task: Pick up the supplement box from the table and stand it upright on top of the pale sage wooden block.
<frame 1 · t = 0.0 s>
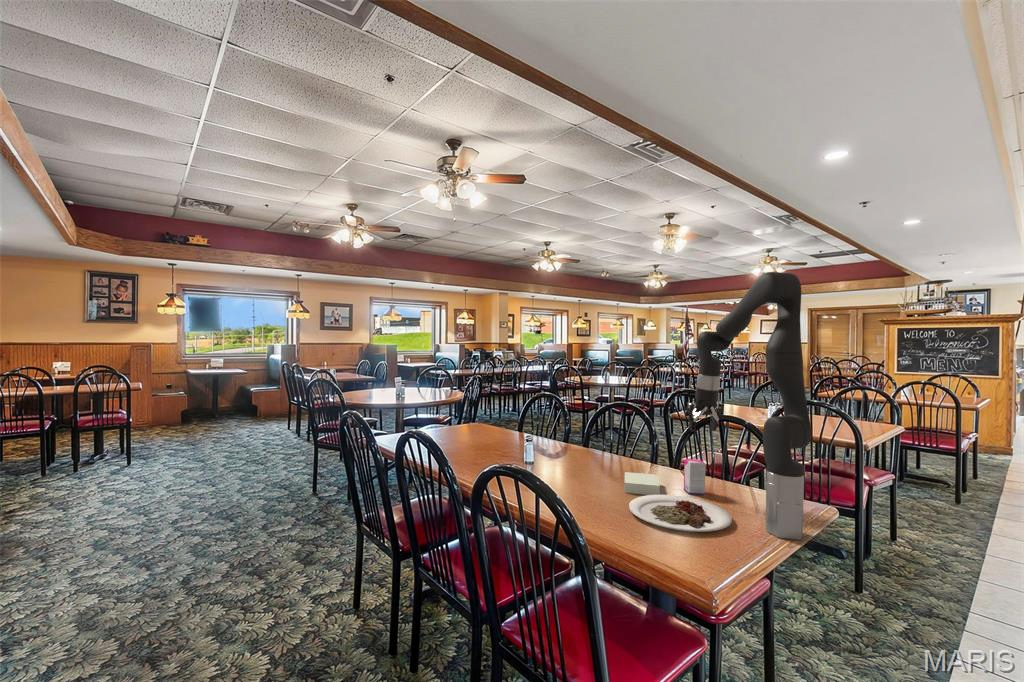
hand: (702, 430, 166), 22 cm above the table, tool pointing down, fingers open, 8 cm apart
supplement box: (694, 492, 166), on the table
plated food: (678, 517, 142), on the table
sage block: (641, 489, 169), on the table
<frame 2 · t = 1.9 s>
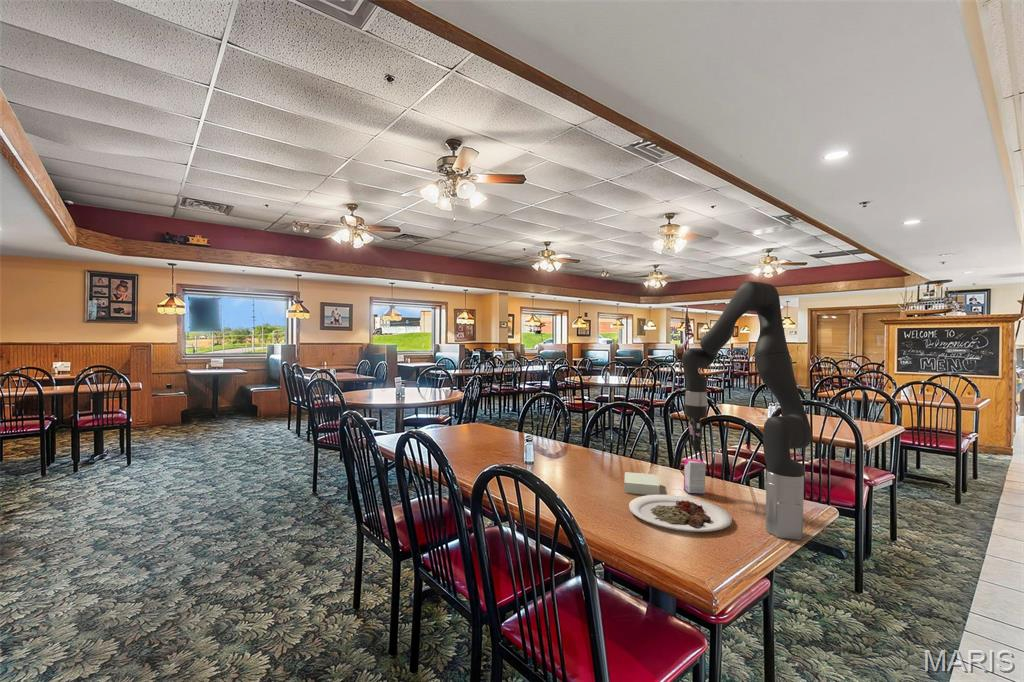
hand: (694, 448, 166), 16 cm above the table, tool pointing down, fingers open, 8 cm apart
nothing on the table moved.
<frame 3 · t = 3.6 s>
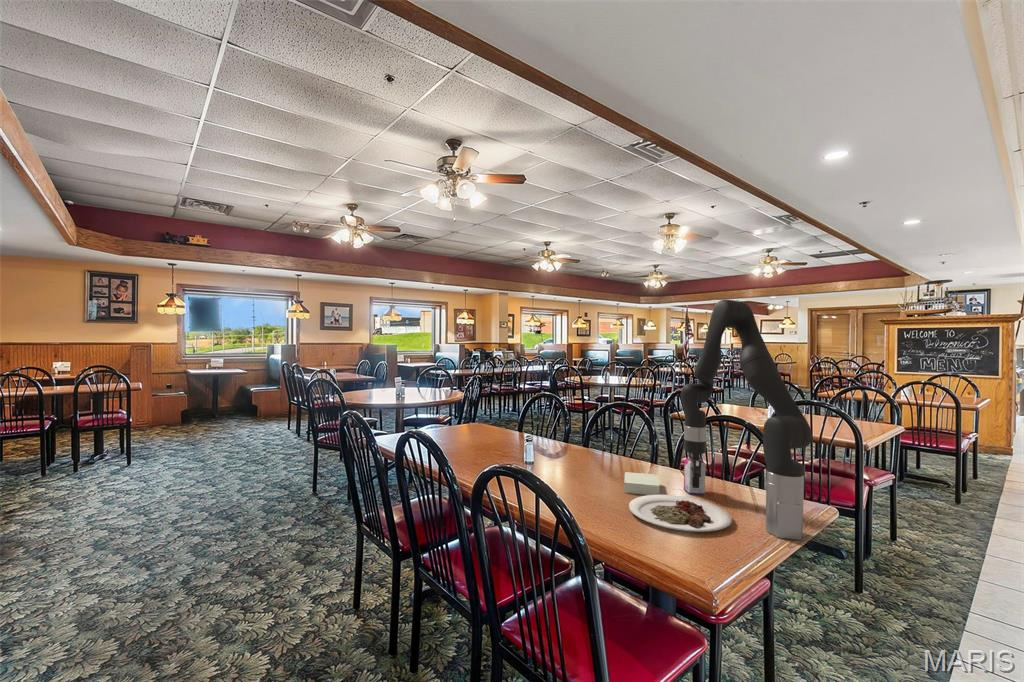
hand: (694, 484, 166), 3 cm above the table, tool pointing down, fingers closed on supplement box, 6 cm apart
supplement box: (694, 492, 166), on the table, touching gripper
everything else where it was.
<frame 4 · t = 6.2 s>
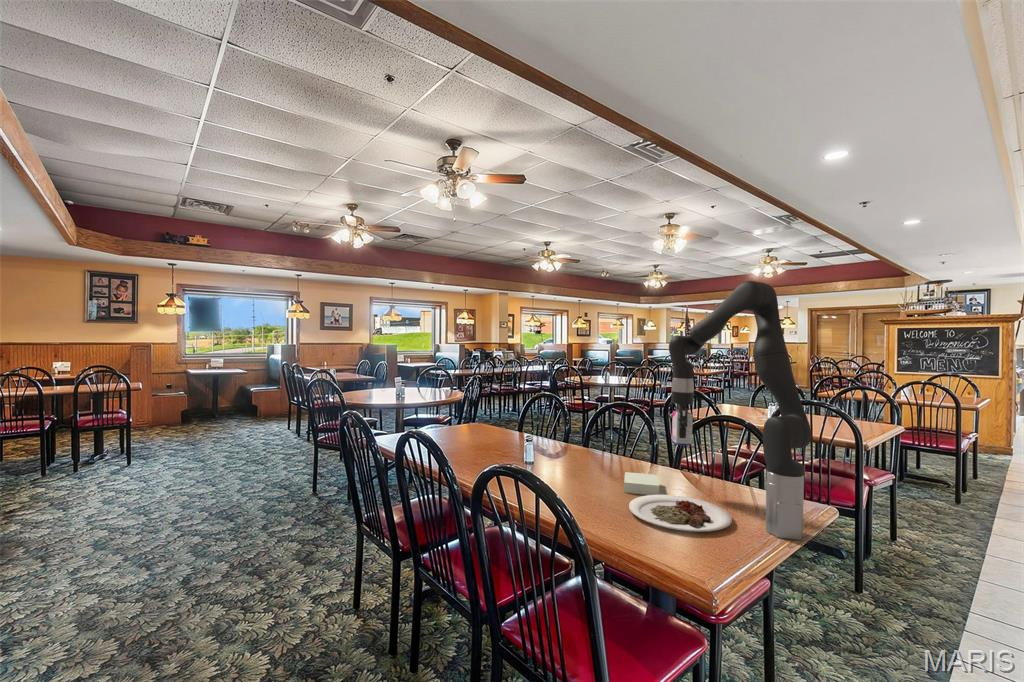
hand: (681, 435, 167), 20 cm above the table, tool pointing down, fingers closed on supplement box, 6 cm apart
supplement box: (681, 443, 167), point 17 cm above the table, touching gripper
everything else where it was.
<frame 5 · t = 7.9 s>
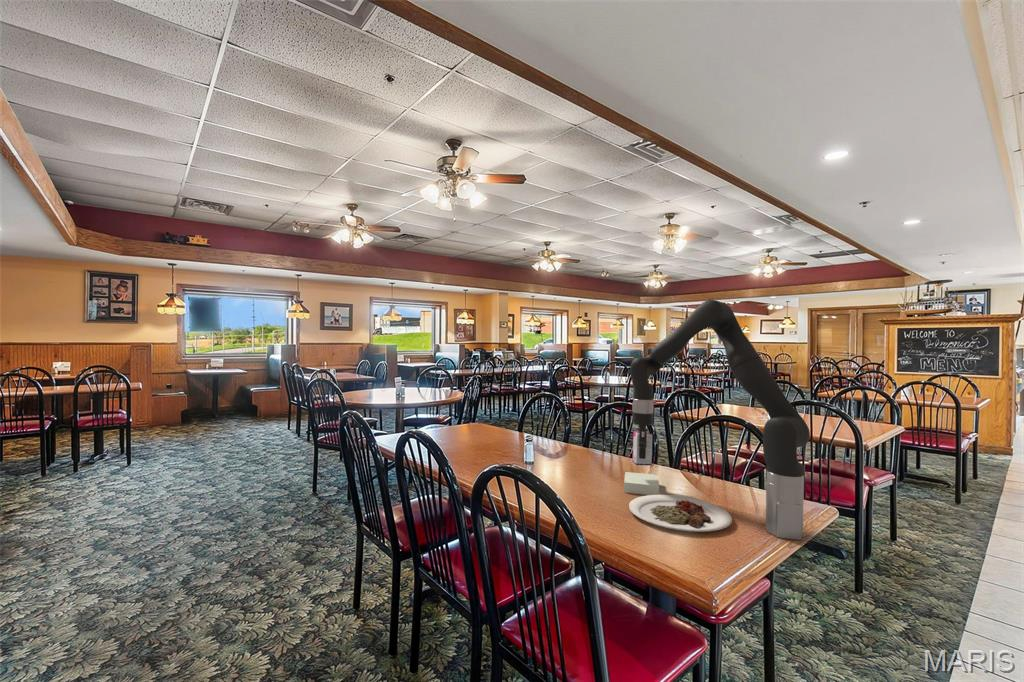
hand: (642, 456, 169), 12 cm above the table, tool pointing down, fingers closed on supplement box, 6 cm apart
supplement box: (641, 463, 169), point 9 cm above the table, touching gripper
everything else where it was.
when the fingers open (8 cm above the table, at t = 9.2 s): supplement box drops 2 cm, resting on sage block.
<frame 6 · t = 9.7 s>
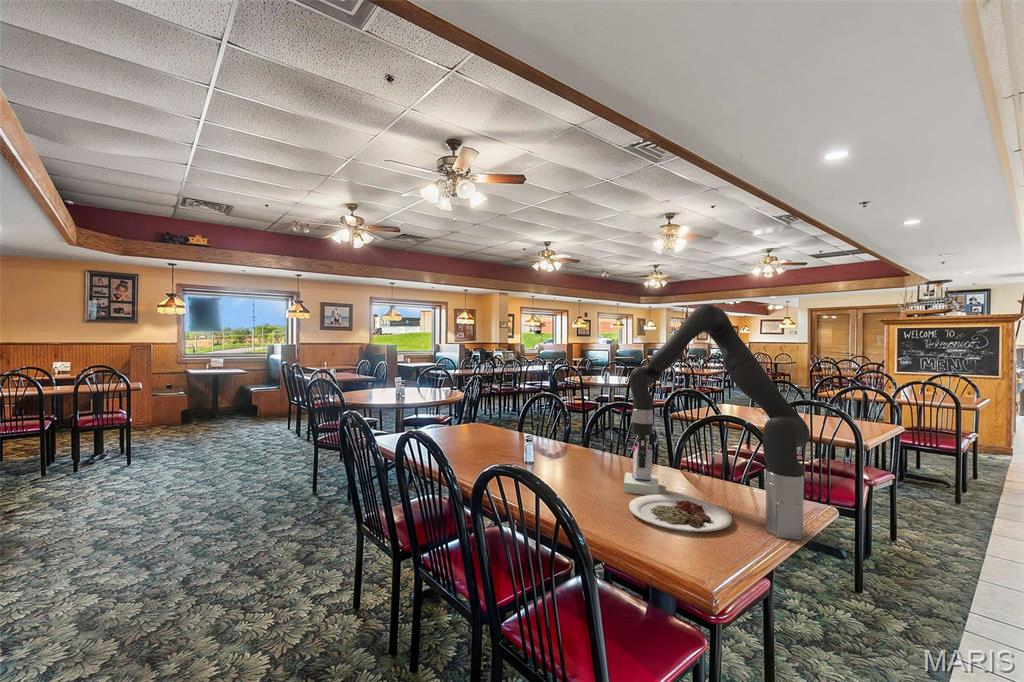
hand: (641, 464, 169), 9 cm above the table, tool pointing down, fingers open, 8 cm apart
supplement box: (641, 479, 169), point 3 cm above the table, touching sage block
sage block: (641, 489, 169), on the table, touching supplement box
everything else where it was.
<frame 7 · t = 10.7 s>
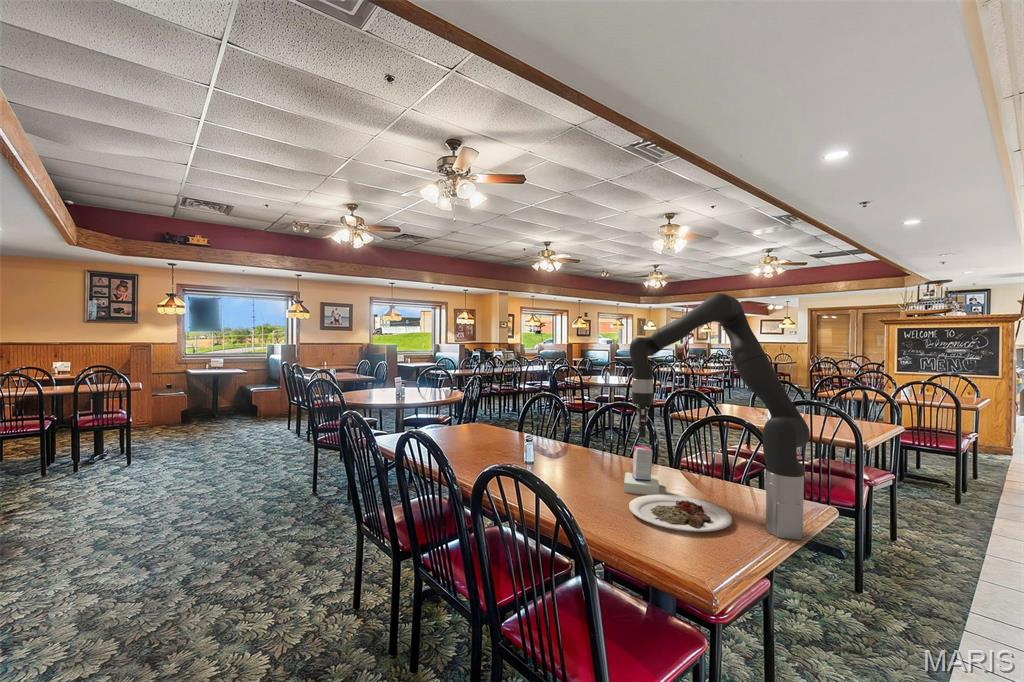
hand: (642, 435, 169), 20 cm above the table, tool pointing down, fingers open, 8 cm apart
supplement box: (641, 479, 169), point 3 cm above the table
sage block: (641, 489, 169), on the table
everything else where it was.
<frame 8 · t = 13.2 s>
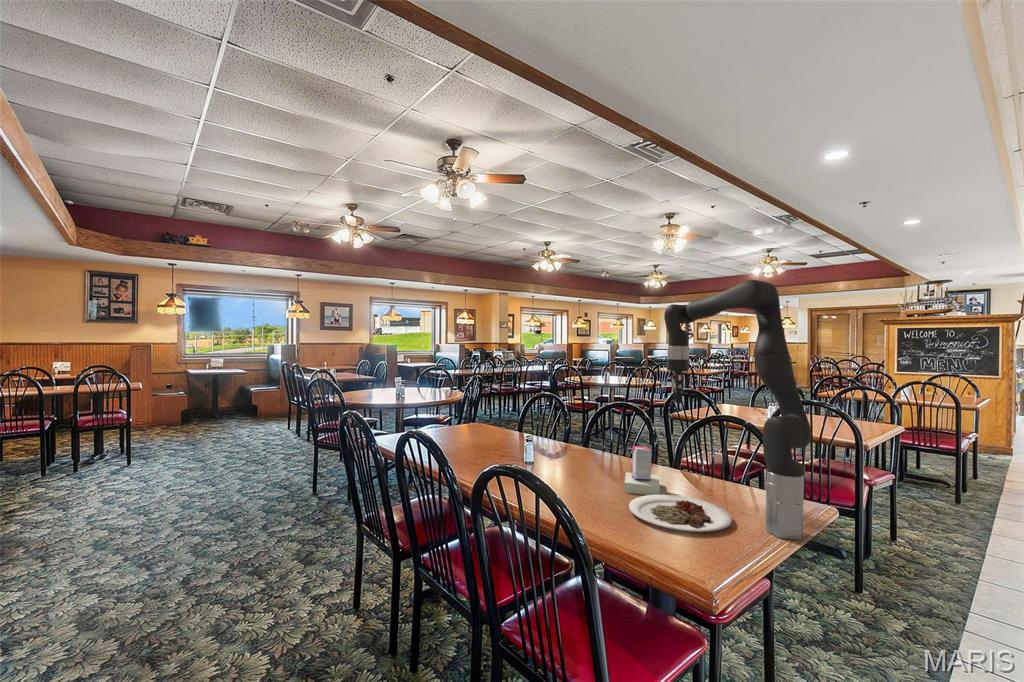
hand: (677, 401, 170), 32 cm above the table, tool pointing down, fingers open, 8 cm apart
supplement box: (641, 479, 169), point 3 cm above the table, touching sage block
sage block: (641, 489, 169), on the table, touching supplement box
everything else where it was.
at the end: supplement box inside the target area on the sage block (0.4 cm from its centre), point 3.9 cm above the sage block's base; supplement box tilted 1°; the gripper is holding nothing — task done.
